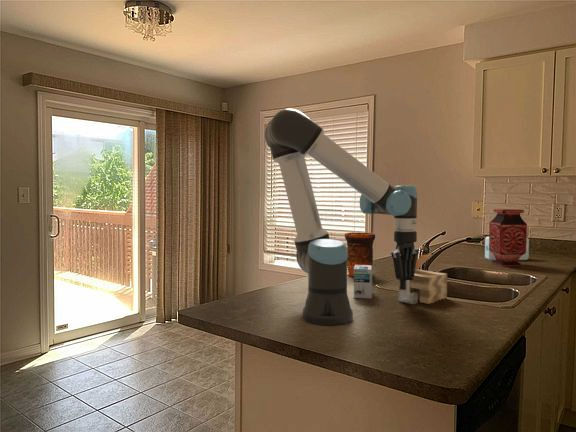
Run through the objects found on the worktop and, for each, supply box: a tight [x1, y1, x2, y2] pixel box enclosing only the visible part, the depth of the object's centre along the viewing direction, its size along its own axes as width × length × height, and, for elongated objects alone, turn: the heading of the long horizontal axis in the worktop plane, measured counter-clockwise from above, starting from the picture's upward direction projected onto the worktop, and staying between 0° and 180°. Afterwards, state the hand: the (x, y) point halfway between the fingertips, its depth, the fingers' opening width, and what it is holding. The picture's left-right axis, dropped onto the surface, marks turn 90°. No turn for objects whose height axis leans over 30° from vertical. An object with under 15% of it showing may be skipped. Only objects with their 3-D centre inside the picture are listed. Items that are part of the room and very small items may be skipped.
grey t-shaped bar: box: [397, 290, 420, 305], centre depth 154 cm, size 17×6×3 cm, turn 130°
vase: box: [488, 208, 528, 267], centre depth 229 cm, size 14×14×30 cm
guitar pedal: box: [484, 236, 530, 261], centre depth 251 cm, size 23×6×13 cm, turn 91°
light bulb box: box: [353, 264, 373, 300], centre depth 159 cm, size 11×7×11 cm, turn 168°
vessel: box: [344, 231, 376, 278], centre depth 201 cm, size 14×14×20 cm
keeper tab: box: [415, 253, 433, 270], centre depth 158 cm, size 9×6×1 cm
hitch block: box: [398, 269, 448, 305], centre depth 155 cm, size 12×12×9 cm
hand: (405, 298), depth 148 cm, fingers closed
